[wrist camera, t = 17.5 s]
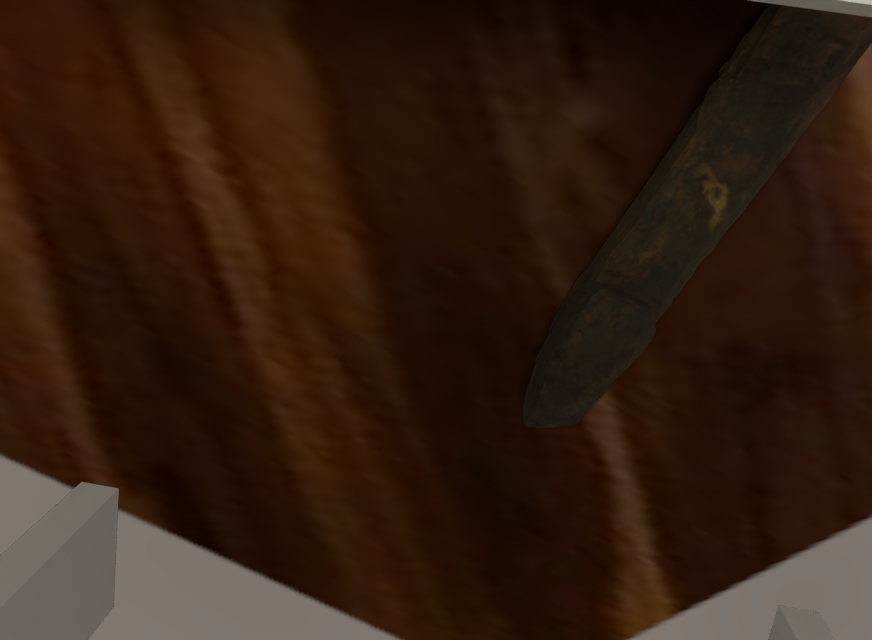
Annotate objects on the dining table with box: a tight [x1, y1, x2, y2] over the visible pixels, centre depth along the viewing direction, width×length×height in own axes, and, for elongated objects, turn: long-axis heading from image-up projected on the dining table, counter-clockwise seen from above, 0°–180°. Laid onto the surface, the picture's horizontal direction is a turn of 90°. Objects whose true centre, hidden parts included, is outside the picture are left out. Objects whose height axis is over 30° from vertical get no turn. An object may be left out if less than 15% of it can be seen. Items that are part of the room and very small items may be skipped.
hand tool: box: [523, 4, 872, 428], centre depth 27 cm, size 19×4×5 cm, turn 145°
